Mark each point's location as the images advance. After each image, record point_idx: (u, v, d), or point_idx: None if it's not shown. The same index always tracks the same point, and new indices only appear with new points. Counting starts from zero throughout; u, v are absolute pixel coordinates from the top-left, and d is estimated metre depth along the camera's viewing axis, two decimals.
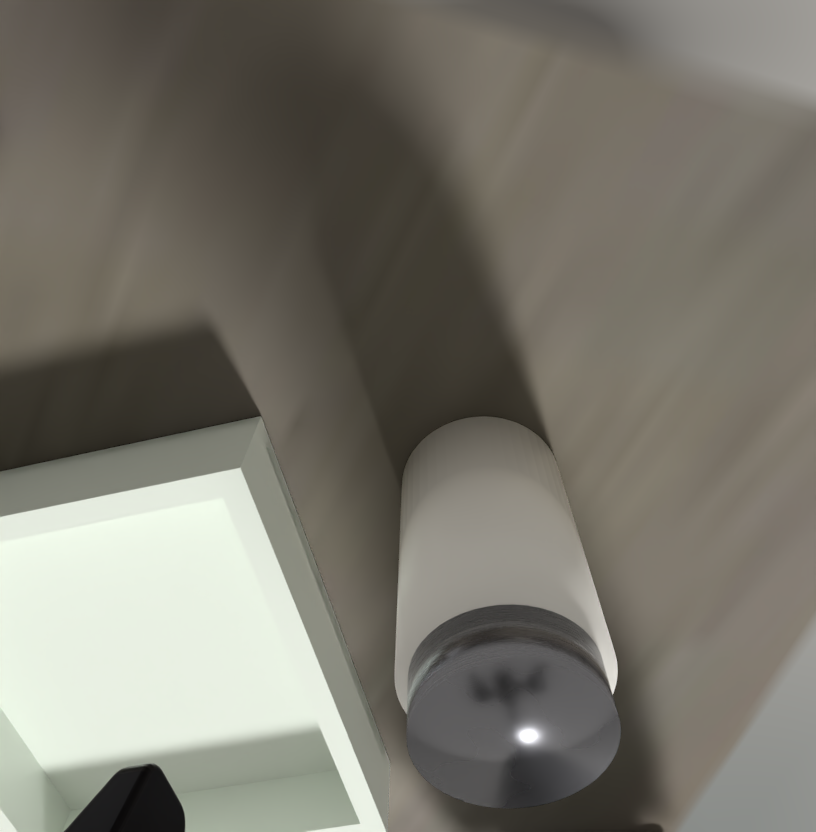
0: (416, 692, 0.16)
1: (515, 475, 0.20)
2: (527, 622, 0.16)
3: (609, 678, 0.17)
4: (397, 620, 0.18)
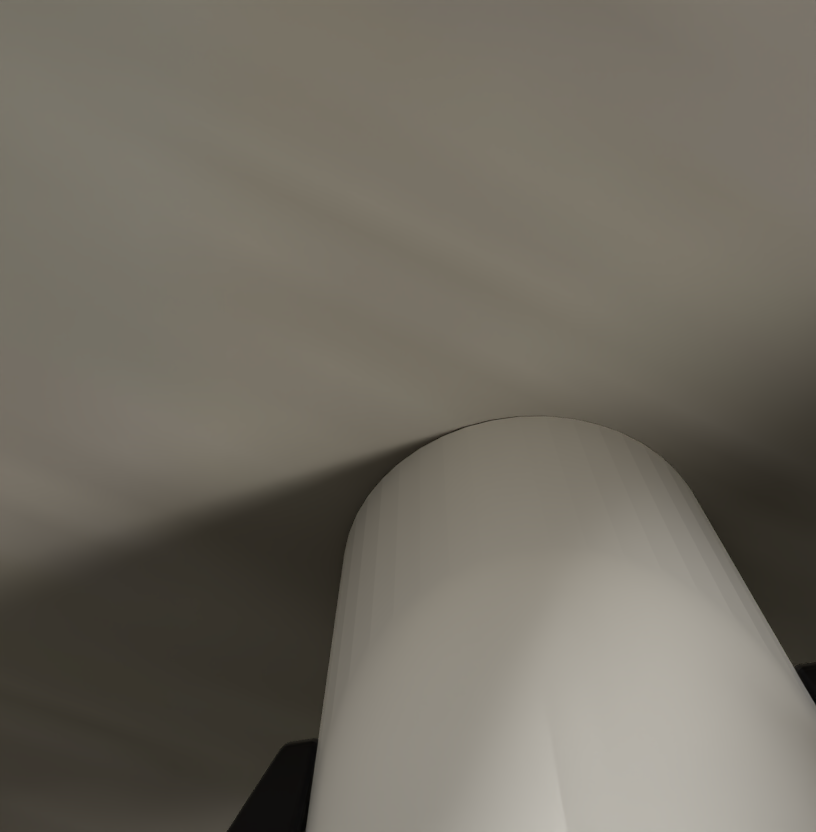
0: None
1: (320, 740, 0.07)
2: None
3: None
4: None
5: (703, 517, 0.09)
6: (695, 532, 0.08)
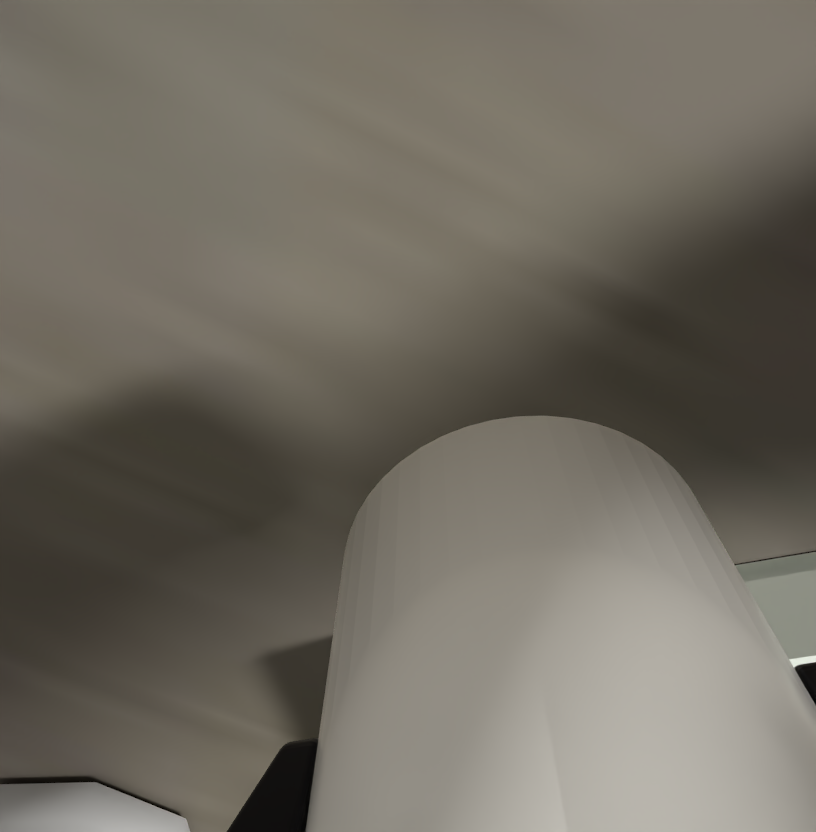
0: None
1: (320, 739, 0.07)
2: None
3: None
4: None
5: (703, 516, 0.09)
6: (695, 532, 0.08)
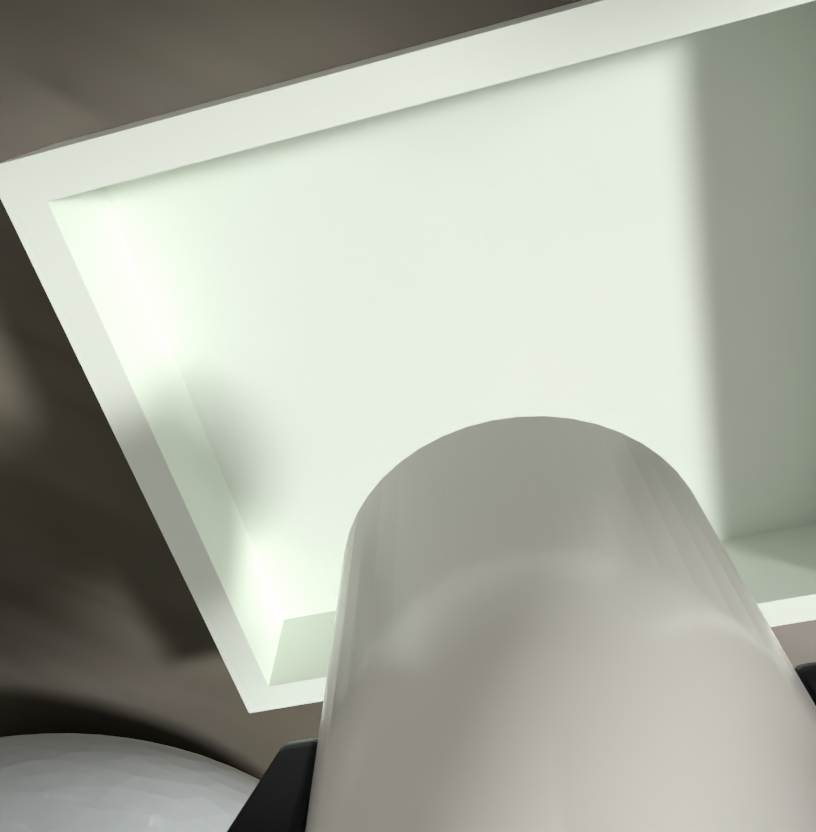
0: None
1: (319, 740, 0.07)
2: None
3: None
4: None
5: (703, 517, 0.09)
6: (695, 533, 0.08)
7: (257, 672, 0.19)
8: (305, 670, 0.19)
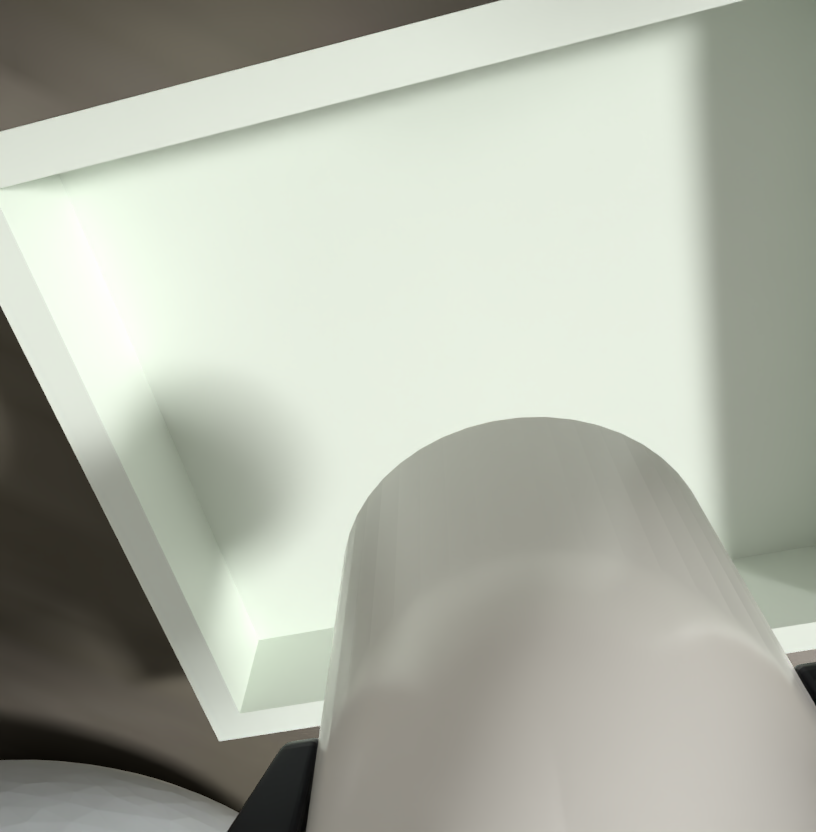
0: None
1: (320, 741, 0.07)
2: None
3: None
4: None
5: (703, 518, 0.09)
6: (696, 534, 0.08)
7: (227, 698, 0.18)
8: (279, 696, 0.18)
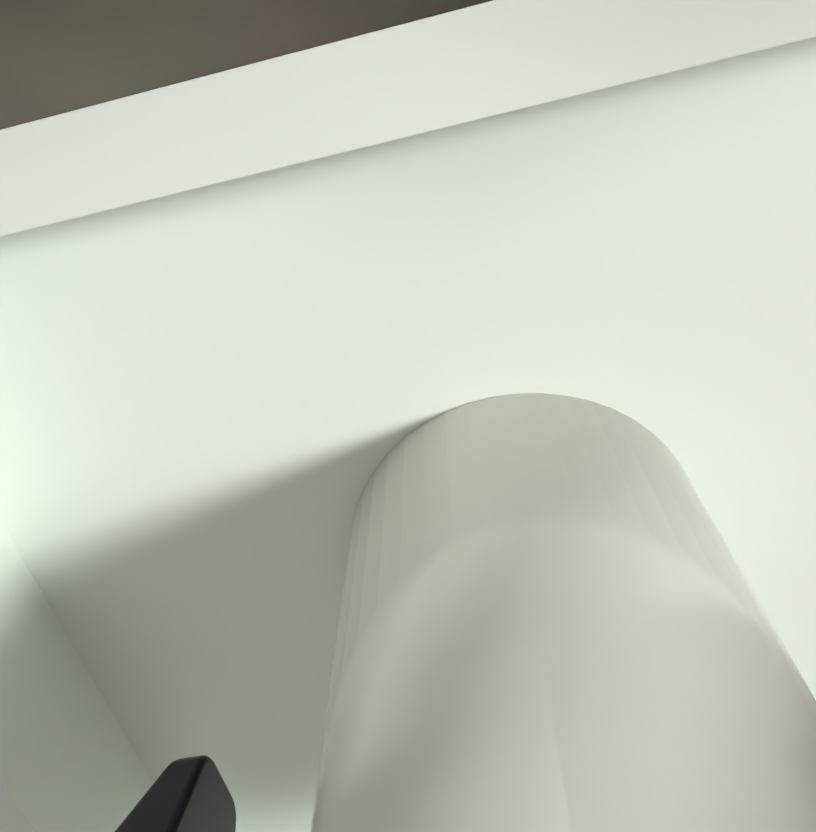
0: None
1: (331, 689, 0.08)
2: None
3: None
4: None
5: (690, 487, 0.09)
6: (681, 499, 0.09)
7: None
8: None
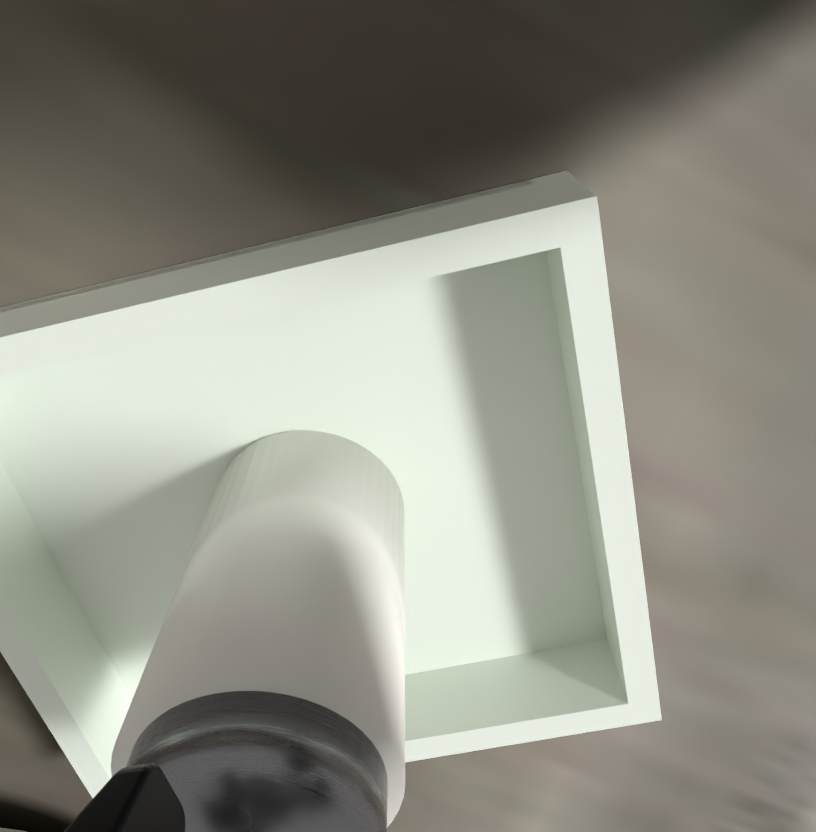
0: None
1: None
2: None
3: (243, 684, 0.12)
4: None
5: (377, 479, 0.18)
6: (359, 484, 0.18)
7: (105, 777, 0.21)
8: None
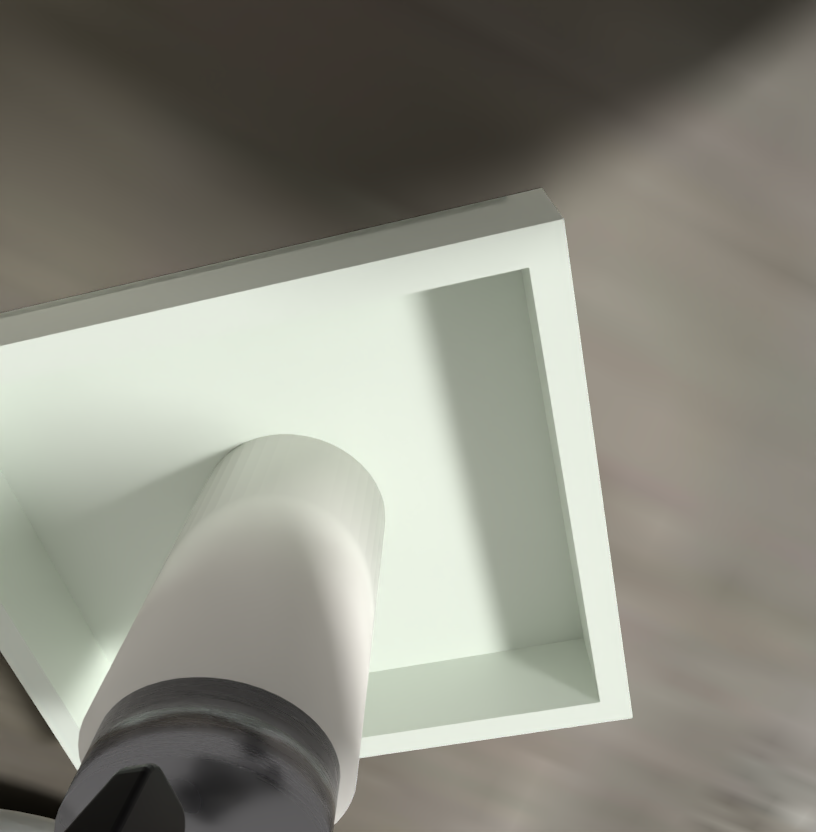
0: None
1: None
2: None
3: (204, 671, 0.13)
4: None
5: (357, 484, 0.19)
6: (338, 488, 0.18)
7: None
8: None
